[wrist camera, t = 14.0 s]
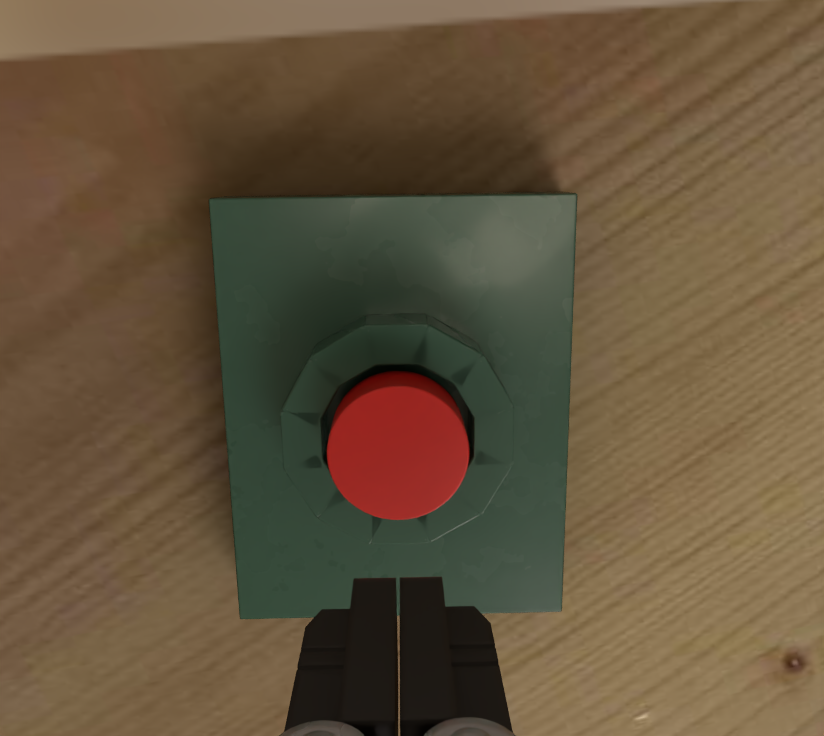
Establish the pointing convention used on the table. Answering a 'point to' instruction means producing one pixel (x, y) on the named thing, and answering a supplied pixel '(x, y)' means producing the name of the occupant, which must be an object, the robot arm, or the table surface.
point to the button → (397, 446)
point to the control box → (396, 351)
